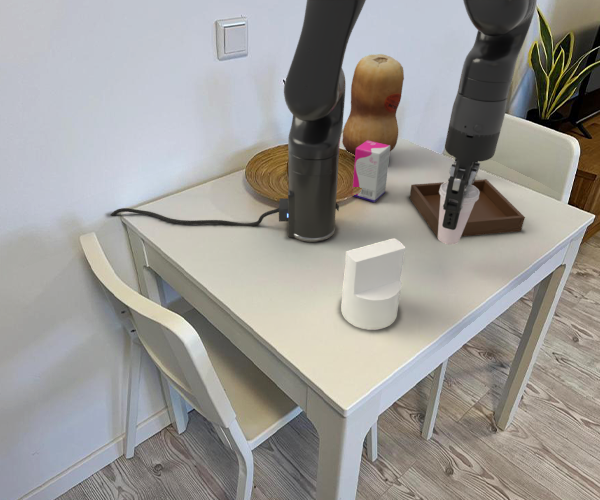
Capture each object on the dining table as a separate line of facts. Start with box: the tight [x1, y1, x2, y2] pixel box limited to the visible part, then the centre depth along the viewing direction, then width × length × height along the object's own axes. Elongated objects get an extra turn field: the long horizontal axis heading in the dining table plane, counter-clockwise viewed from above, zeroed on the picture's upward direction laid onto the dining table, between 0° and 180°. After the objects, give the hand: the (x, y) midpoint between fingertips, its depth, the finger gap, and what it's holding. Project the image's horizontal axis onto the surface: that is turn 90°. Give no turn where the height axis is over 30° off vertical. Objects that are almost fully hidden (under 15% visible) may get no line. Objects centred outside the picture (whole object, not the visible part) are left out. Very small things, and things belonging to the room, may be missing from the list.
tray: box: [409, 178, 526, 239], centre depth 107 cm, size 18×17×3 cm
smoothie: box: [437, 180, 480, 245], centre depth 85 cm, size 6×6×14 cm
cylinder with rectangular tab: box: [340, 237, 406, 331], centre depth 79 cm, size 9×9×12 cm
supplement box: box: [352, 140, 391, 203], centre depth 111 cm, size 6×6×12 cm
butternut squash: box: [341, 53, 405, 155], centre depth 123 cm, size 14×13×25 cm
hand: (453, 217), depth 87 cm, fingers closed on smoothie, 6 cm apart
